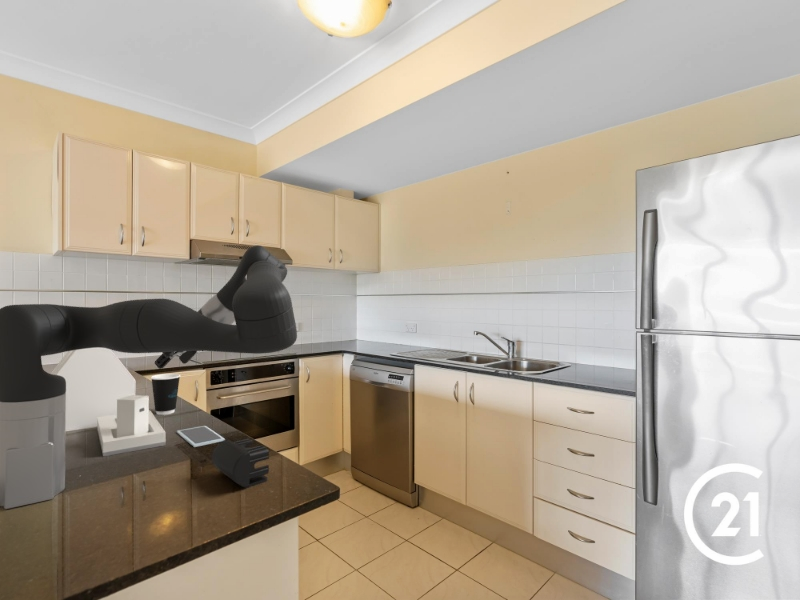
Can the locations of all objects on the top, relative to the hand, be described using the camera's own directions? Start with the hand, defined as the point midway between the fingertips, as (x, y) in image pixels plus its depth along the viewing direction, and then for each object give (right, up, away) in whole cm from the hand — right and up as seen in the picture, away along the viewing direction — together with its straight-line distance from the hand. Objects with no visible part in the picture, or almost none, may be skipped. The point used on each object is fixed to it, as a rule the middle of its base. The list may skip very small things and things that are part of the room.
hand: (170, 363), depth 101 cm
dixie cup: (-15, -19, +26) cm, 35 cm away
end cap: (+24, -20, -20) cm, 37 cm away
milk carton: (-32, -19, +17) cm, 40 cm away
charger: (-9, -18, -1) cm, 20 cm away
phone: (+5, -20, +5) cm, 21 cm away
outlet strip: (-12, -19, +4) cm, 23 cm away
